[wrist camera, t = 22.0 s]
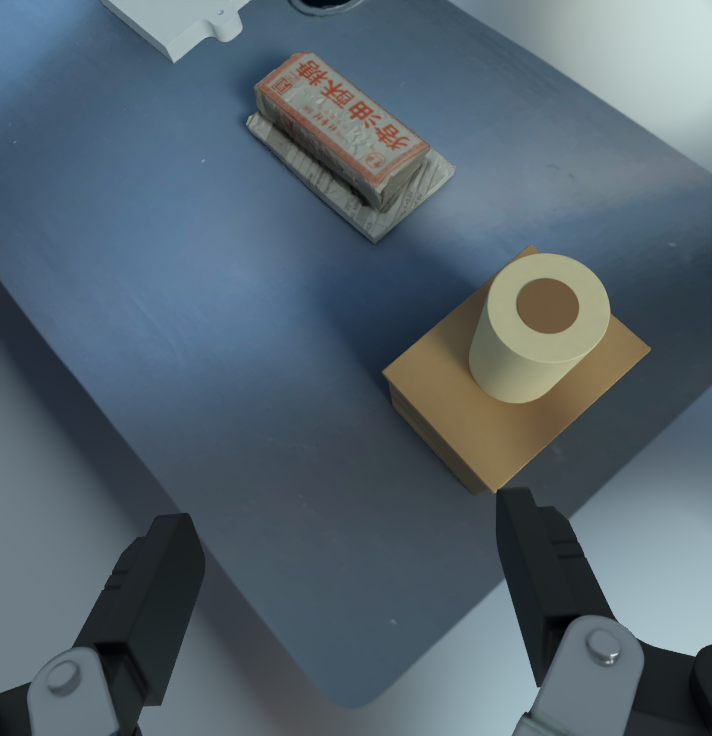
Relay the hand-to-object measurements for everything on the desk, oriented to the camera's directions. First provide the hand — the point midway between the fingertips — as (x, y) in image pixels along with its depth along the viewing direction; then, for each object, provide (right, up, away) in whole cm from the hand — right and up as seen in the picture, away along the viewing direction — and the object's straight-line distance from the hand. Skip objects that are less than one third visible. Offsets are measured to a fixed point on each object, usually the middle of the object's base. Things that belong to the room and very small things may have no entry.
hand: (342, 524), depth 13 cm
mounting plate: (-18, +44, +42) cm, 64 cm away
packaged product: (0, +24, +34) cm, 42 cm away
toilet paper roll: (+10, +5, +17) cm, 20 cm away
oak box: (+11, +2, +26) cm, 28 cm away
